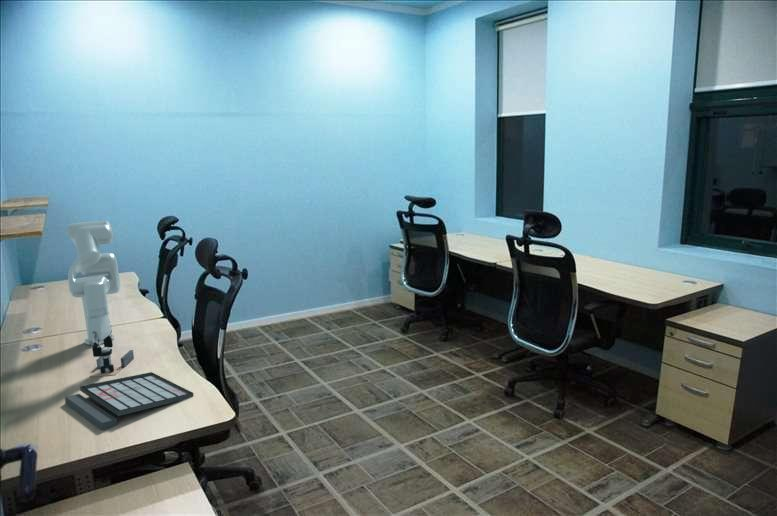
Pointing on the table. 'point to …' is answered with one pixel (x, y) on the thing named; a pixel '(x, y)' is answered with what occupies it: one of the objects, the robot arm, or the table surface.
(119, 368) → the mat
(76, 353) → the table surface
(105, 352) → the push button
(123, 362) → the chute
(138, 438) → the table surface
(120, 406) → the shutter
